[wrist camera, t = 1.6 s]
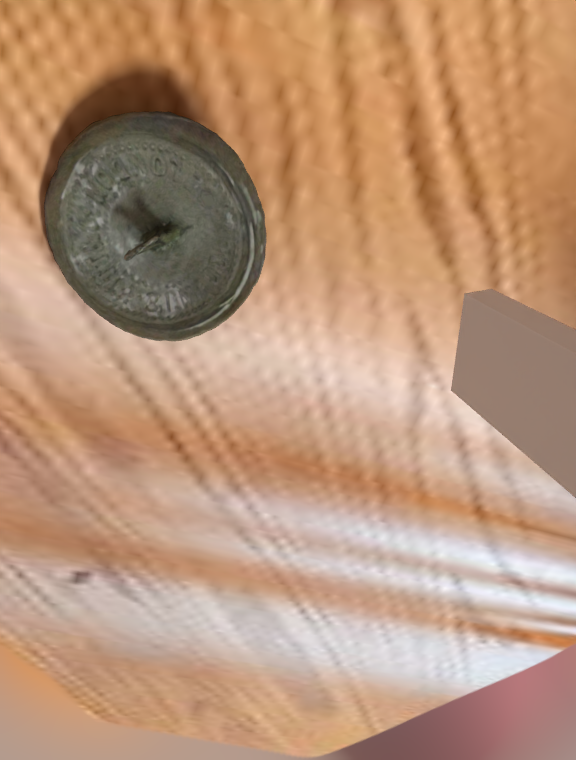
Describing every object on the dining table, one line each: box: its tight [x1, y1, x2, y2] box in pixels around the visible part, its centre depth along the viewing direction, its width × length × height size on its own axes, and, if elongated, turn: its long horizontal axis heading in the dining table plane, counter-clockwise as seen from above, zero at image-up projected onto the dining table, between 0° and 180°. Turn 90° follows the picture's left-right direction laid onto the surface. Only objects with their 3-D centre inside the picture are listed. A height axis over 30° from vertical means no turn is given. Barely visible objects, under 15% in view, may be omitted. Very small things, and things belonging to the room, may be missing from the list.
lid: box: [44, 112, 266, 341], centre depth 22 cm, size 10×10×5 cm
